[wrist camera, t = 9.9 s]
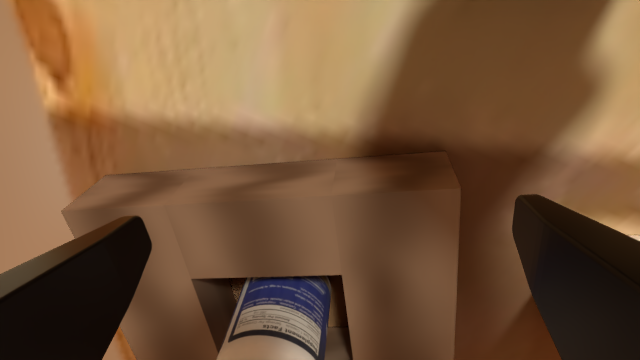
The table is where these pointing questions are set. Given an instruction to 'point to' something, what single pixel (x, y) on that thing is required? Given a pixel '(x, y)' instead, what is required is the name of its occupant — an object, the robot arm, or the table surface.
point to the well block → (292, 249)
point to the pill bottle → (279, 319)
